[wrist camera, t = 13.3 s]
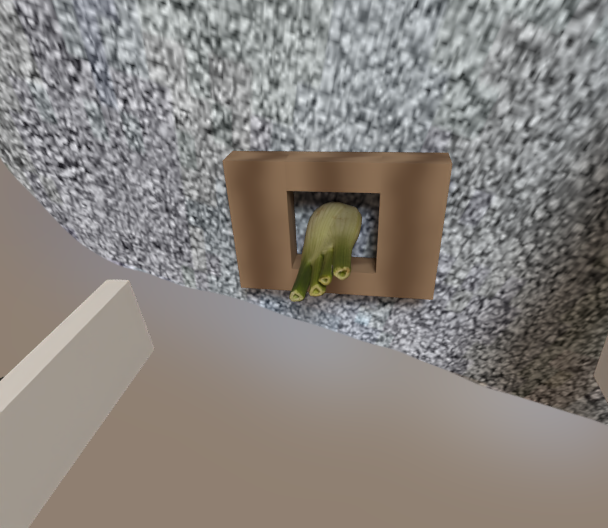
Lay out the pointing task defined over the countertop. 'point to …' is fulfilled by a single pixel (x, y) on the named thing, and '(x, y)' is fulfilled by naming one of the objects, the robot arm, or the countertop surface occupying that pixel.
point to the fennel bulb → (327, 248)
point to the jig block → (340, 178)
